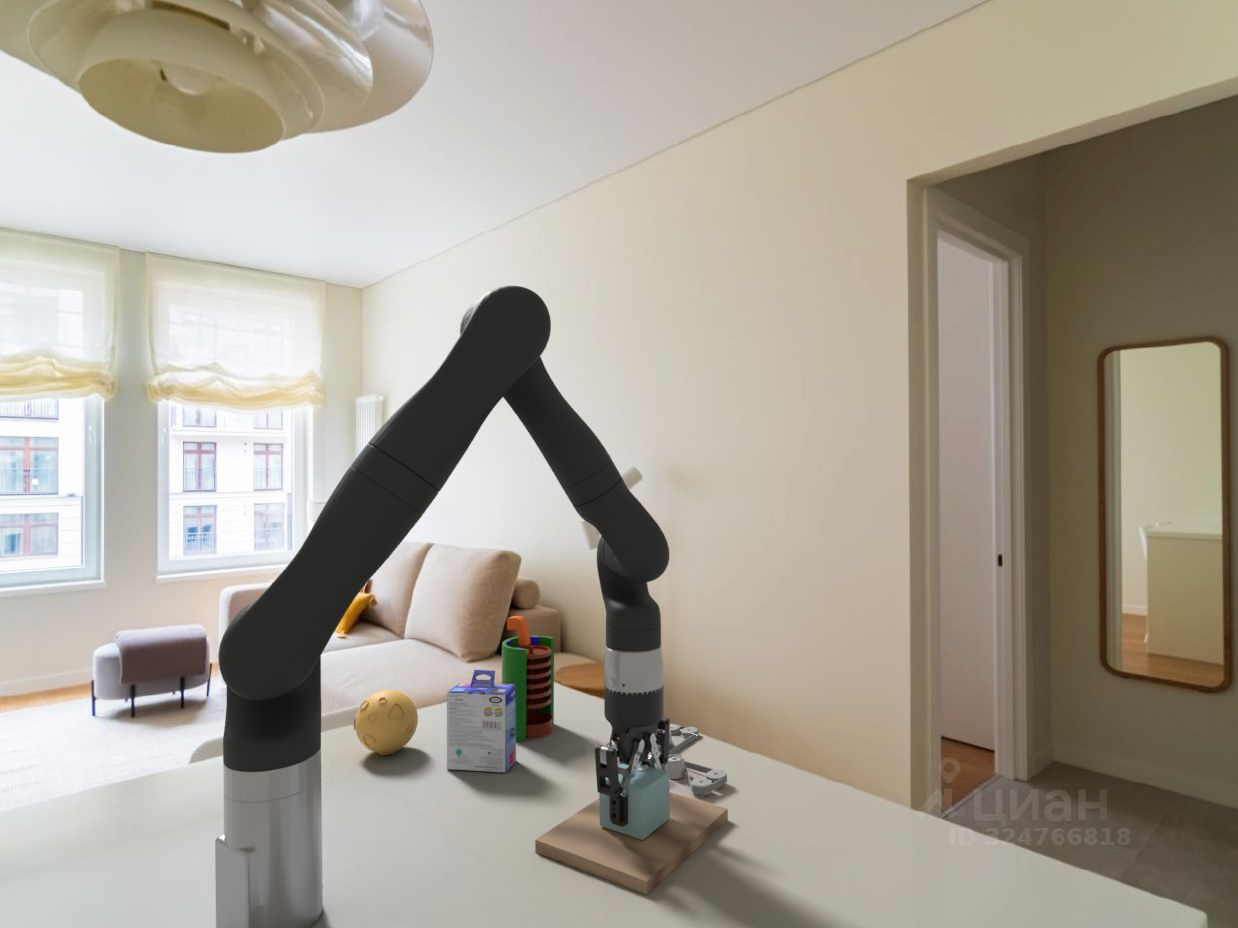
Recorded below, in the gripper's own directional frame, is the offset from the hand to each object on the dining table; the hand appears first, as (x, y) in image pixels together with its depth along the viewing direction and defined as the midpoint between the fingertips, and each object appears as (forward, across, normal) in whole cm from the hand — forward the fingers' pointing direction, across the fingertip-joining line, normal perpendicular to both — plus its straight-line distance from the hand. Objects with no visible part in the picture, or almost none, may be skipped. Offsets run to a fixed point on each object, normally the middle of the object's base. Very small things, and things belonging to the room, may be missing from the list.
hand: (634, 812), depth 92 cm
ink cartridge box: (+3, +5, +32) cm, 33 cm away
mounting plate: (+3, 0, 0) cm, 3 cm away
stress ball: (+3, 0, +49) cm, 49 cm away
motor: (+3, +20, +36) cm, 41 cm away
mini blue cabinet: (+1, 0, 0) cm, 1 cm away
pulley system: (+4, +22, +9) cm, 24 cm away
